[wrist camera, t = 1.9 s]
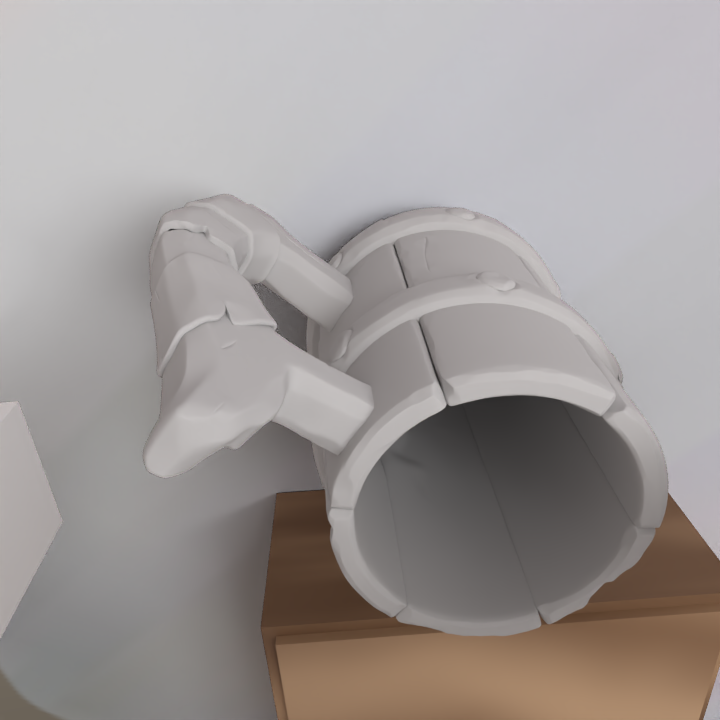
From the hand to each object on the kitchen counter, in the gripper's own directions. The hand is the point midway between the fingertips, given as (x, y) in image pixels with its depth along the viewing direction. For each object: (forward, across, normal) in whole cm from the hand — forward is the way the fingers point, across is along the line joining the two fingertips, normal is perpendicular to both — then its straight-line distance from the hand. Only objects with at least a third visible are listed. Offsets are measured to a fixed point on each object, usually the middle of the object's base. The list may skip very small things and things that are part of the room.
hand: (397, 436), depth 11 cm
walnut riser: (+9, -3, +16) cm, 18 cm away
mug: (+9, 0, 0) cm, 9 cm away
